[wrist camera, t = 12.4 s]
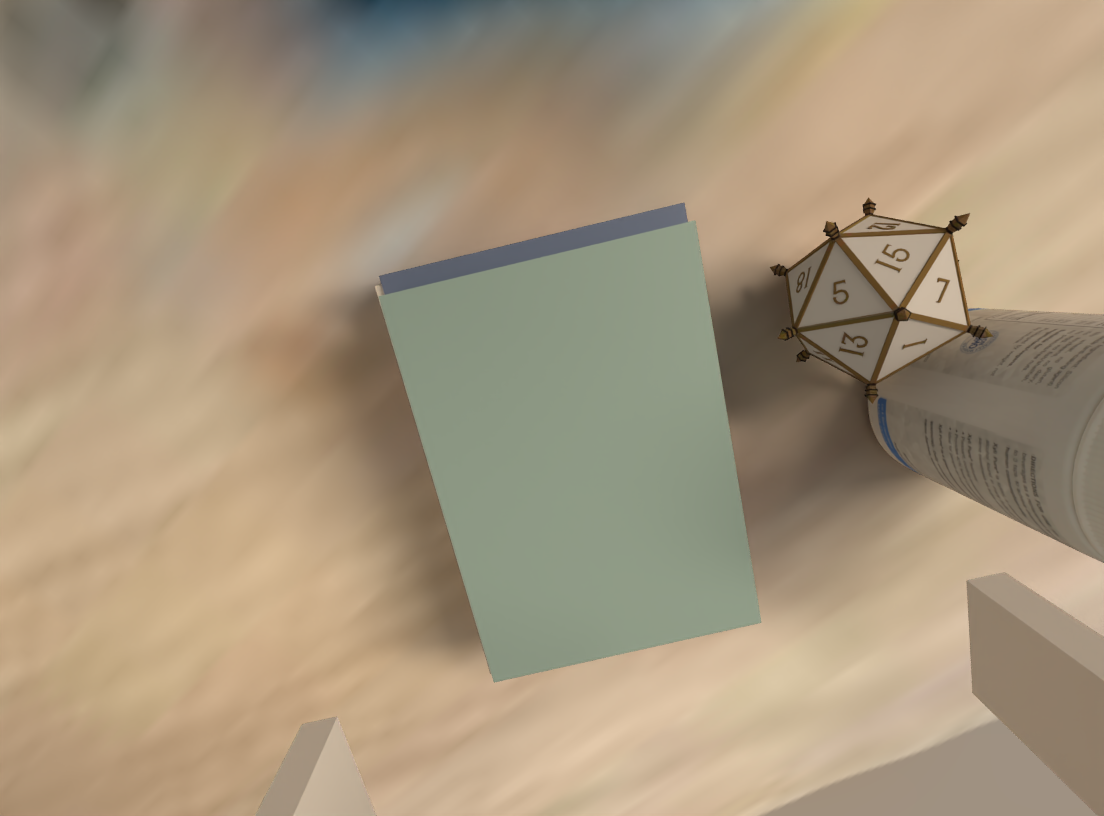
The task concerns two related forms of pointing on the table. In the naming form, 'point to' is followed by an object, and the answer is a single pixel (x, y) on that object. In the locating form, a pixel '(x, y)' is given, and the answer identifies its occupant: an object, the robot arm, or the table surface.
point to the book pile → (578, 440)
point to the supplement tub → (1009, 420)
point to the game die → (878, 296)
